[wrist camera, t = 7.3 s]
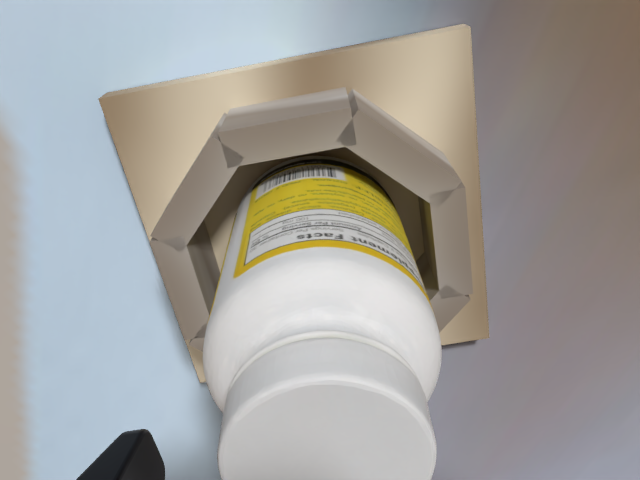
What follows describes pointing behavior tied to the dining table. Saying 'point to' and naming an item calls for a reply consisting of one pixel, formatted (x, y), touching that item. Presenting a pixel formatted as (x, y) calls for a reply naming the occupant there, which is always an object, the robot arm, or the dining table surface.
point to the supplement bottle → (321, 333)
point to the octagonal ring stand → (313, 140)
